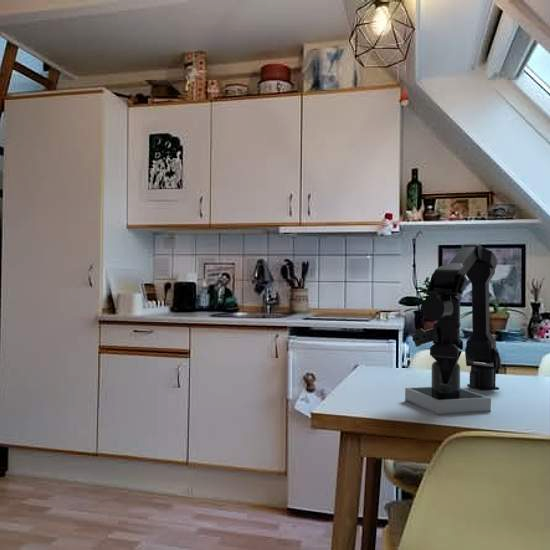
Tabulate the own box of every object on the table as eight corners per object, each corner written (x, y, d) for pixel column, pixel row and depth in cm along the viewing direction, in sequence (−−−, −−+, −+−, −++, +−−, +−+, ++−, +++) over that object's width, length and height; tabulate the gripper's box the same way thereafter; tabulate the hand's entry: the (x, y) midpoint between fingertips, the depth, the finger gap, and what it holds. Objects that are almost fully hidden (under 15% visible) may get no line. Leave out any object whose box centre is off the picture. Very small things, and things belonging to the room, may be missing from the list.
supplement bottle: (465, 399, 130) (466, 351, 129) (449, 404, 125) (450, 354, 125) (441, 394, 135) (442, 348, 135) (425, 398, 131) (426, 350, 130)
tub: (453, 398, 139) (454, 385, 139) (490, 412, 125) (490, 398, 125) (405, 401, 135) (405, 387, 135) (437, 415, 121) (437, 400, 121)
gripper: (420, 315, 142) (419, 372, 142) (408, 319, 125) (407, 384, 125) (463, 316, 137) (462, 376, 137) (457, 322, 120) (456, 389, 120)
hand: (446, 381), depth 130 cm, fingers closed on supplement bottle, 7 cm apart
